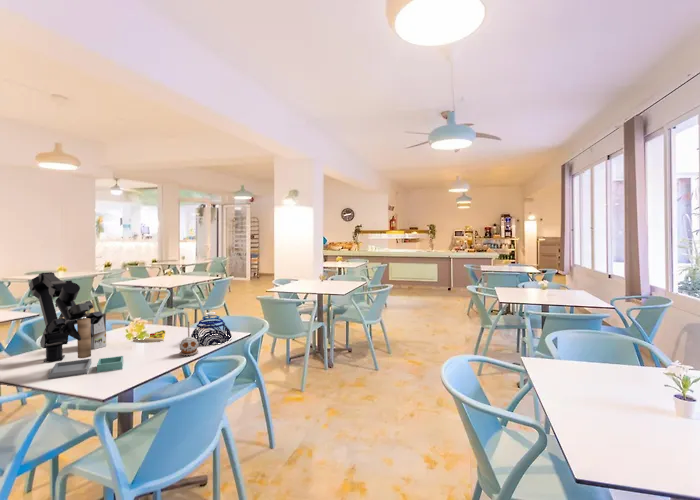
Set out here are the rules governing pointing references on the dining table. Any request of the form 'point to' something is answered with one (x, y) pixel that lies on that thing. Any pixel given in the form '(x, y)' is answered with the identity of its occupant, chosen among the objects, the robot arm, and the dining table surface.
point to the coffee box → (98, 333)
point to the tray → (70, 368)
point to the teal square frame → (110, 364)
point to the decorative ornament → (188, 345)
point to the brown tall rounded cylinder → (84, 337)
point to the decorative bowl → (211, 330)
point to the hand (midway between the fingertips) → (86, 338)
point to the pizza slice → (153, 337)
